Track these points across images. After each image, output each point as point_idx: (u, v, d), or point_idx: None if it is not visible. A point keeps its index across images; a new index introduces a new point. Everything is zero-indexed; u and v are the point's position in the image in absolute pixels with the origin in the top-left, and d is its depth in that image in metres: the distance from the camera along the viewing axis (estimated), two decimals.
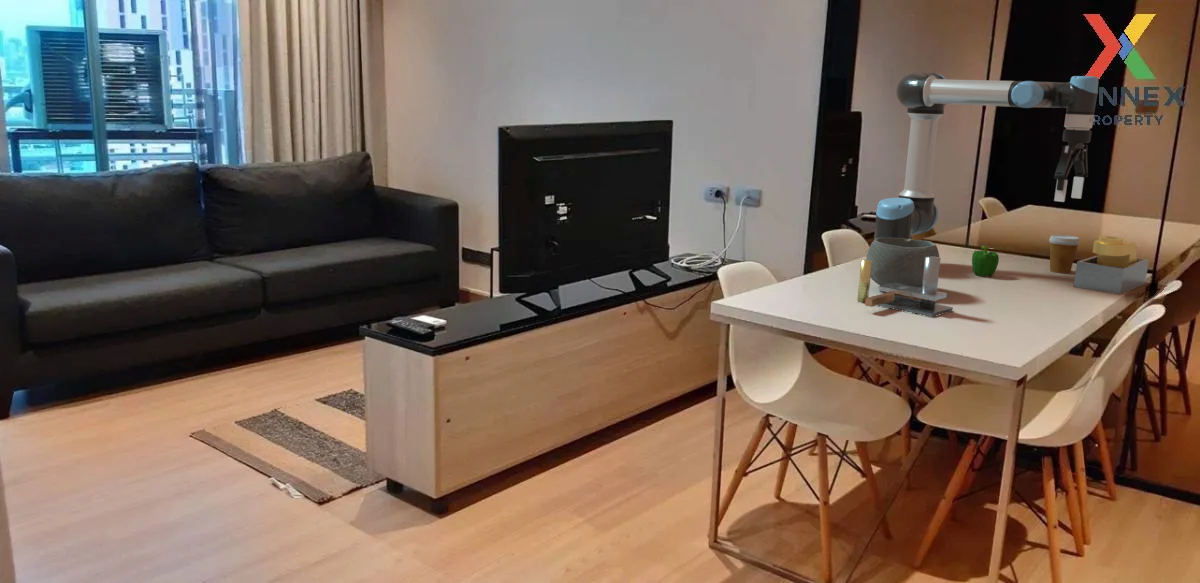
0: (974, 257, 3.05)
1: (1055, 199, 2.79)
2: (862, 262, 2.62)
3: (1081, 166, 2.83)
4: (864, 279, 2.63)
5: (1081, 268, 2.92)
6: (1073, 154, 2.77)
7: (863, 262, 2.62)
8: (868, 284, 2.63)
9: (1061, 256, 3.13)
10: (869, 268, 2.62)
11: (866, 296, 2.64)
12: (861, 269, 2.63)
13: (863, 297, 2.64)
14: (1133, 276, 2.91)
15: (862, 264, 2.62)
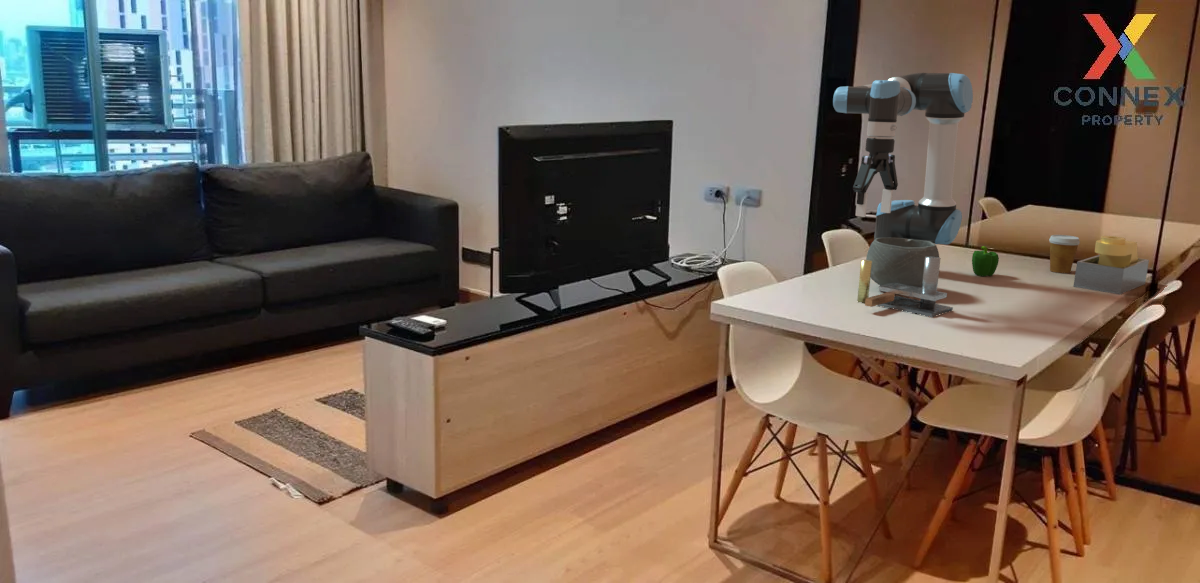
0: (974, 257, 3.05)
1: (856, 214, 2.56)
2: (862, 262, 2.62)
3: (888, 178, 2.60)
4: (864, 279, 2.63)
5: (1081, 268, 2.92)
6: (875, 165, 2.54)
7: (863, 262, 2.62)
8: (868, 284, 2.63)
9: (1061, 256, 3.13)
10: (869, 268, 2.62)
11: (866, 296, 2.64)
12: (861, 269, 2.63)
13: (863, 297, 2.64)
14: (1133, 276, 2.91)
15: (862, 264, 2.62)
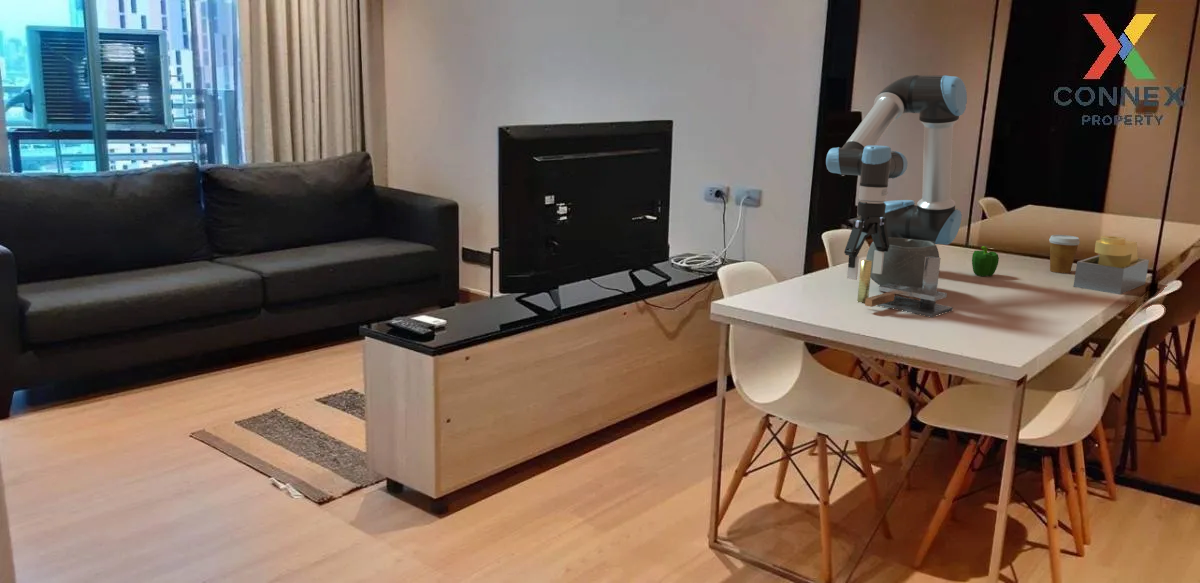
0: (974, 257, 3.05)
1: (848, 276, 2.59)
2: (862, 262, 2.62)
3: (879, 240, 2.64)
4: (864, 279, 2.63)
5: (1081, 268, 2.92)
6: (866, 229, 2.58)
7: (863, 262, 2.62)
8: (868, 284, 2.63)
9: (1061, 256, 3.13)
10: (869, 268, 2.62)
11: (866, 296, 2.64)
12: (861, 269, 2.63)
13: (863, 297, 2.64)
14: (1133, 276, 2.91)
15: (862, 264, 2.62)
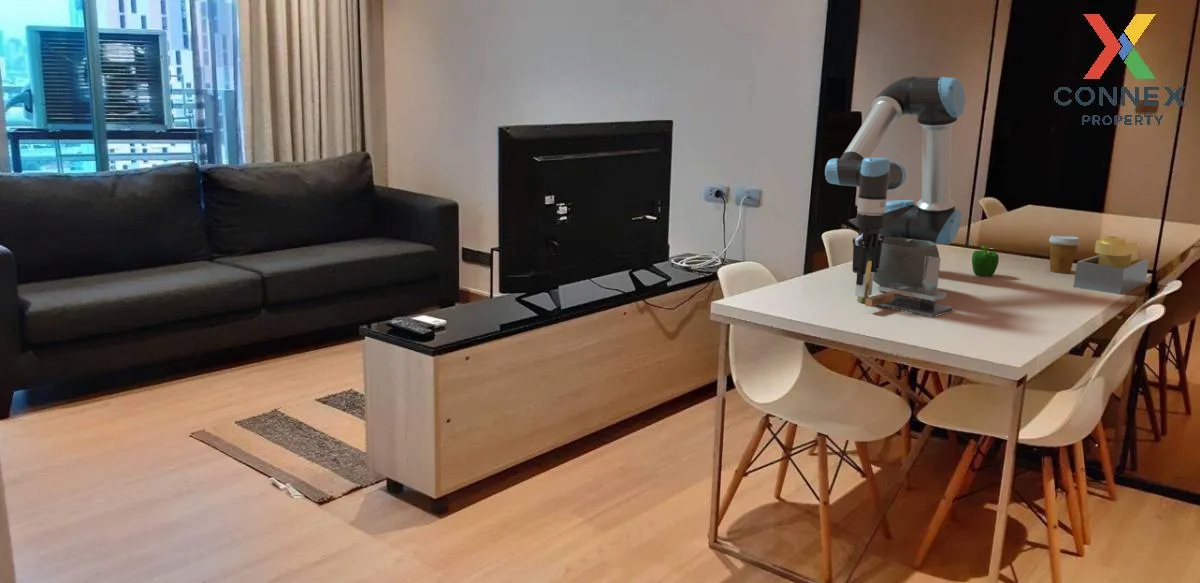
0: (974, 257, 3.05)
1: (856, 293, 2.64)
2: None
3: (872, 256, 2.63)
4: None
5: (1081, 268, 2.92)
6: (866, 243, 2.60)
7: None
8: (868, 284, 2.63)
9: (1061, 256, 3.13)
10: (869, 268, 2.62)
11: (866, 296, 2.64)
12: None
13: (863, 297, 2.64)
14: (1133, 276, 2.91)
15: None
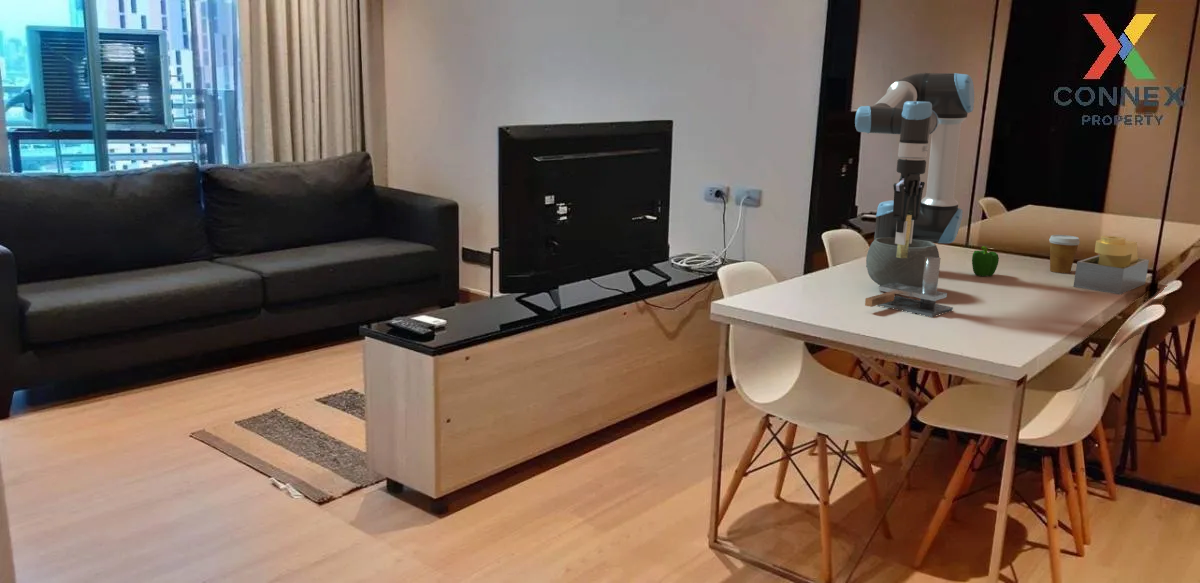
0: (974, 257, 3.05)
1: (896, 242, 2.58)
2: None
3: (913, 203, 2.57)
4: None
5: (1081, 268, 2.92)
6: (907, 189, 2.54)
7: None
8: (908, 239, 2.58)
9: (1061, 256, 3.13)
10: (909, 222, 2.57)
11: (905, 251, 2.58)
12: None
13: (902, 252, 2.58)
14: (1133, 276, 2.91)
15: None
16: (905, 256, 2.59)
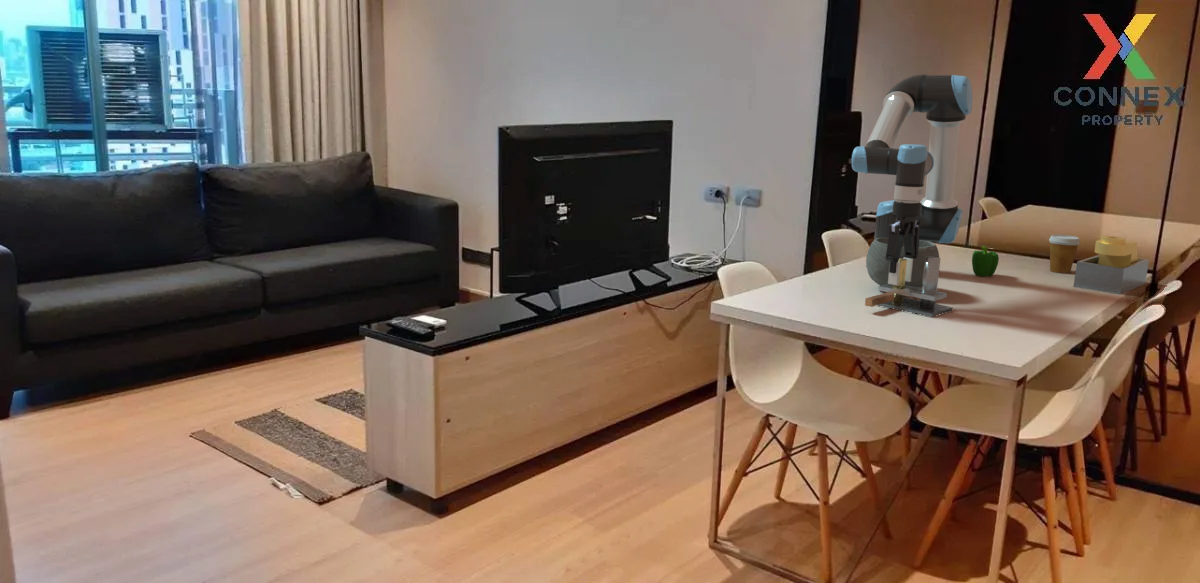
0: (974, 257, 3.05)
1: (889, 282, 2.60)
2: None
3: (911, 244, 2.61)
4: (899, 278, 2.60)
5: (1081, 268, 2.92)
6: (902, 230, 2.56)
7: (898, 261, 2.59)
8: (903, 283, 2.61)
9: (1061, 256, 3.13)
10: (904, 267, 2.59)
11: (901, 295, 2.61)
12: None
13: (898, 297, 2.61)
14: (1133, 276, 2.91)
15: None
16: (901, 300, 2.62)
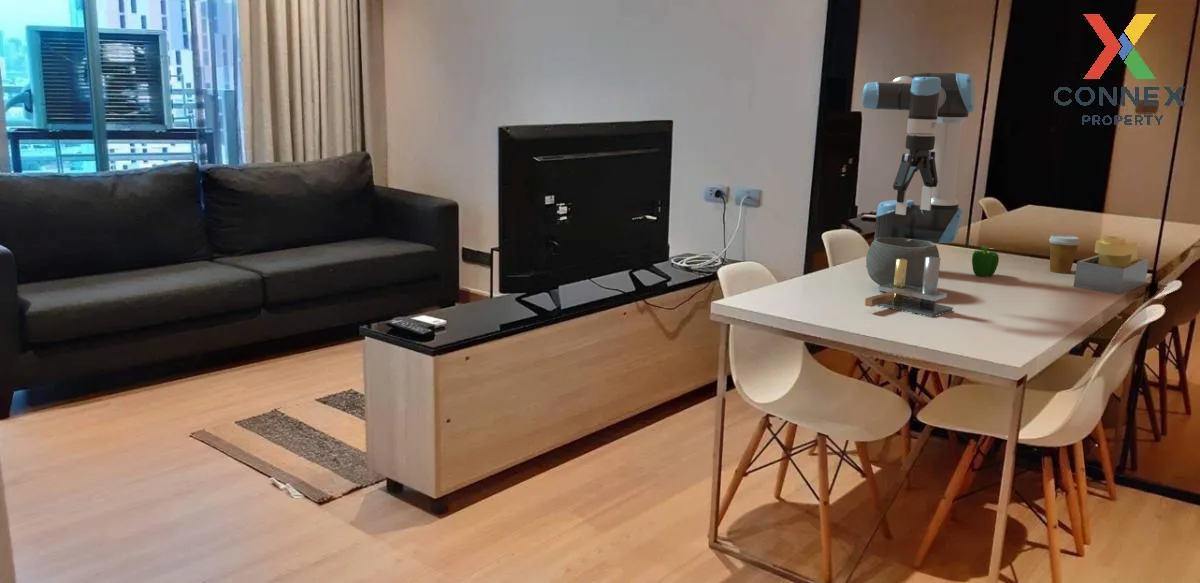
0: (974, 257, 3.05)
1: (896, 212, 2.54)
2: (897, 261, 2.60)
3: (928, 175, 2.58)
4: (899, 278, 2.60)
5: (1081, 268, 2.92)
6: (915, 162, 2.52)
7: (899, 260, 2.60)
8: (903, 283, 2.61)
9: (1061, 256, 3.13)
10: (904, 267, 2.60)
11: (901, 295, 2.62)
12: (896, 268, 2.61)
13: (898, 297, 2.62)
14: (1133, 276, 2.91)
15: (897, 263, 2.60)
16: (901, 300, 2.62)
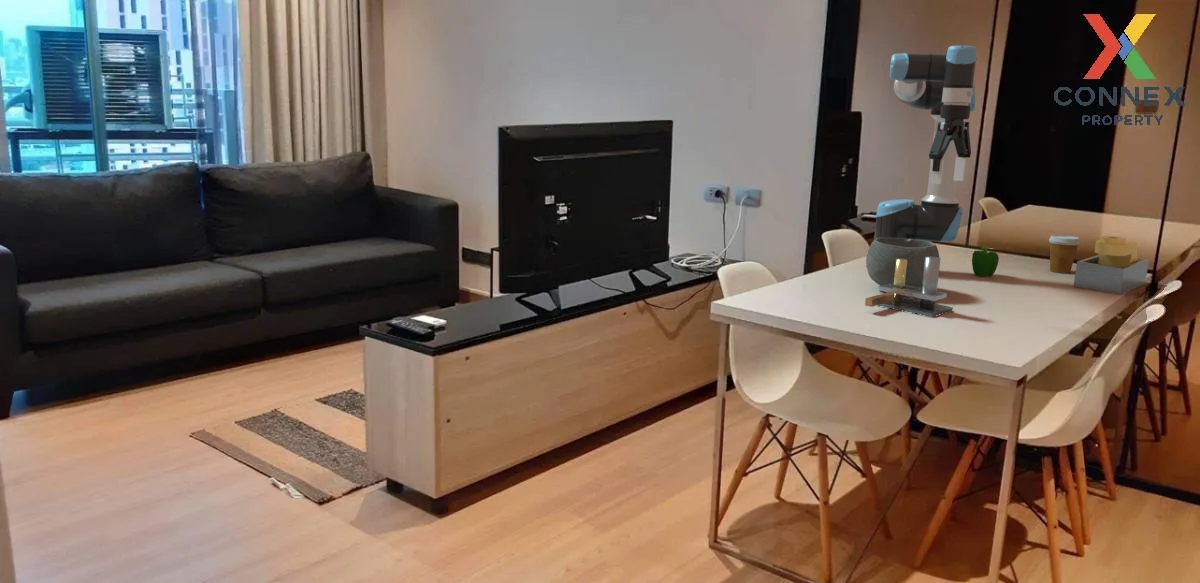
0: (974, 257, 3.05)
1: (931, 181, 2.54)
2: (897, 261, 2.60)
3: (962, 145, 2.59)
4: (899, 278, 2.60)
5: (1081, 268, 2.92)
6: (950, 132, 2.52)
7: (899, 260, 2.60)
8: (903, 283, 2.61)
9: (1061, 256, 3.13)
10: (904, 267, 2.60)
11: (901, 295, 2.62)
12: (896, 268, 2.61)
13: (898, 296, 2.62)
14: (1133, 276, 2.91)
15: (897, 263, 2.60)
16: (901, 300, 2.62)
